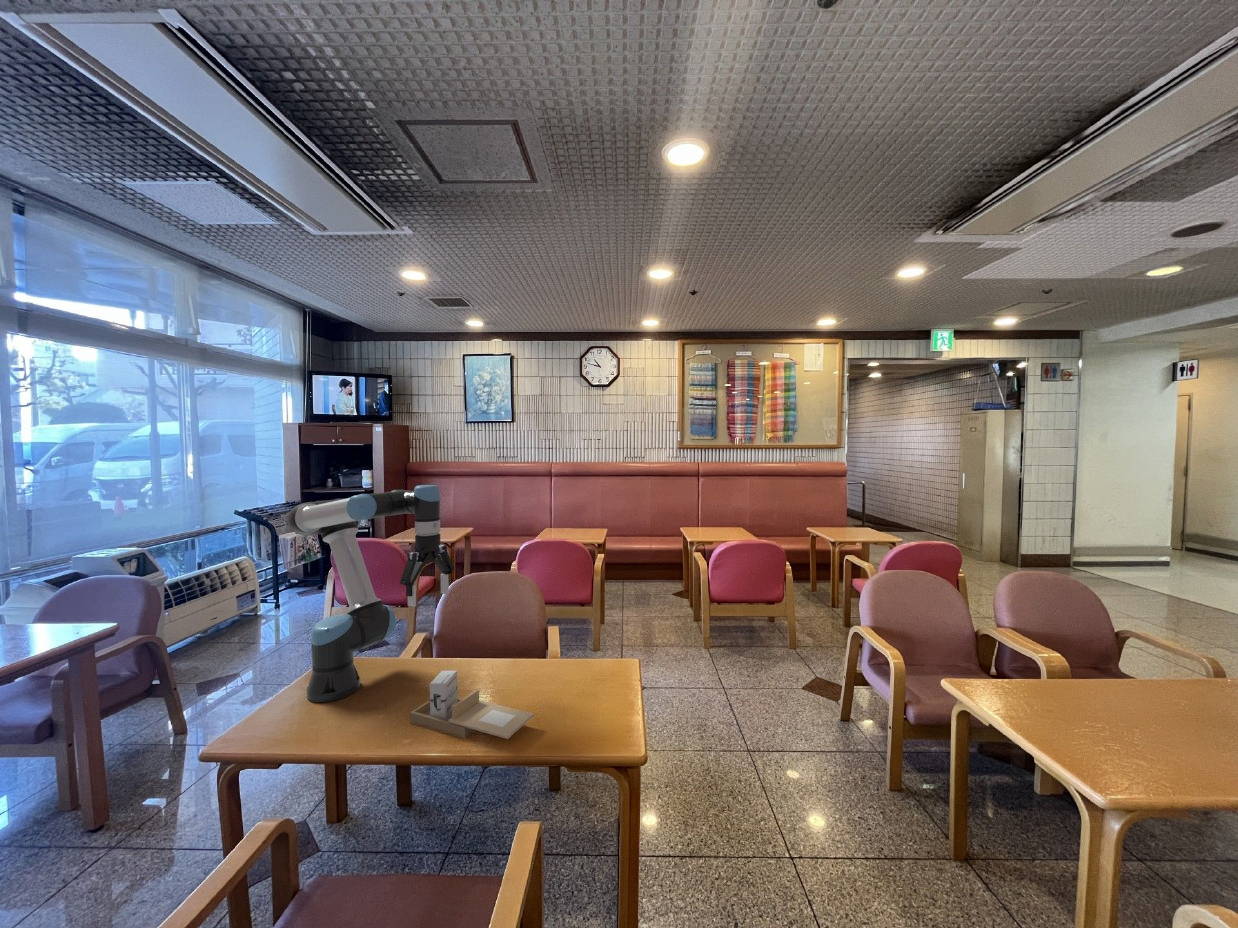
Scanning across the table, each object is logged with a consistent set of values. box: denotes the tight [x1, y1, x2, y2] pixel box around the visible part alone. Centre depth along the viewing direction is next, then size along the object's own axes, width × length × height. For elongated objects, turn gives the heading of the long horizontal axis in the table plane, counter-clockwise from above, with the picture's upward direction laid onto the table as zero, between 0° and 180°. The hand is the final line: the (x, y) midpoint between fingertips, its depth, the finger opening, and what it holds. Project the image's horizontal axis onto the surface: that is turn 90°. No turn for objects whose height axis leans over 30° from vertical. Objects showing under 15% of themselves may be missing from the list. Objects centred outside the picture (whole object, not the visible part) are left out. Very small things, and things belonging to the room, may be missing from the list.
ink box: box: [429, 670, 459, 721], centre depth 144 cm, size 9×5×12 cm, turn 175°
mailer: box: [409, 697, 477, 740], centre depth 143 cm, size 20×12×3 cm, turn 66°
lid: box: [448, 689, 535, 740], centre depth 137 cm, size 20×12×4 cm, turn 66°
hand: (428, 599), depth 158 cm, fingers open, 13 cm apart
